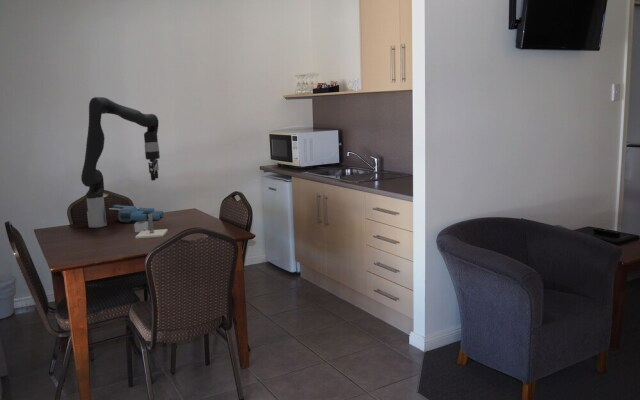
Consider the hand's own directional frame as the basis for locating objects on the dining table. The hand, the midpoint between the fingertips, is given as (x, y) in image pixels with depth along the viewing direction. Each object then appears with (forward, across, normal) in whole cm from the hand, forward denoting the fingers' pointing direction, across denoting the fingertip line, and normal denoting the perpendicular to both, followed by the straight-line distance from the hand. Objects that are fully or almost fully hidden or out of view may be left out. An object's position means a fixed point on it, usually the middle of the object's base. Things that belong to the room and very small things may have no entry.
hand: (154, 179), depth 316 cm
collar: (+27, +8, -8) cm, 29 cm away
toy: (+28, -26, -18) cm, 42 cm away
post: (+27, +20, 0) cm, 34 cm away
